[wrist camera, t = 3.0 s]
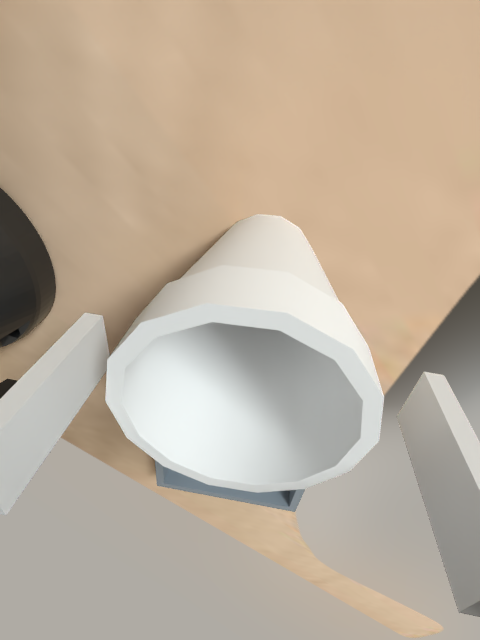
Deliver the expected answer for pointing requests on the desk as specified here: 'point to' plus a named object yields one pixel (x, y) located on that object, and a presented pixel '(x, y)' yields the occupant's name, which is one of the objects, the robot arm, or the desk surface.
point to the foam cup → (248, 368)
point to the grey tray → (228, 490)
